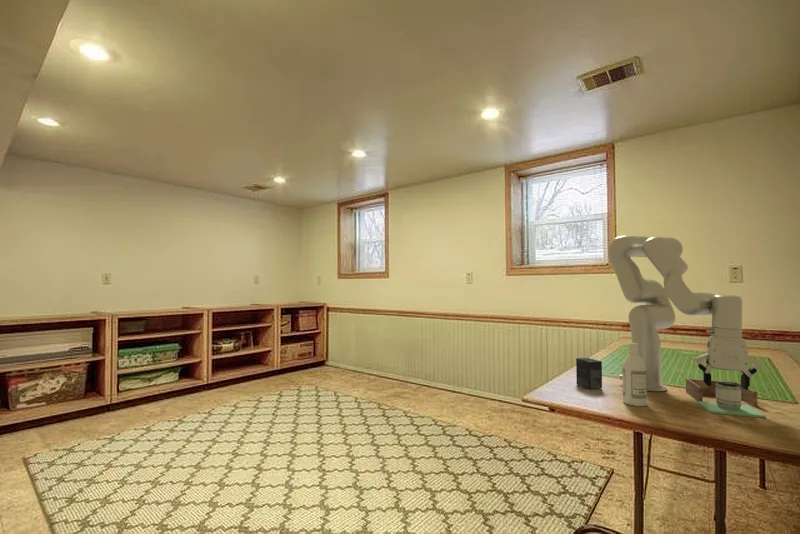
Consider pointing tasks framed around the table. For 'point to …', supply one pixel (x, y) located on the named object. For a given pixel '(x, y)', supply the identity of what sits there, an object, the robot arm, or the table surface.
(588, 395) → the table surface
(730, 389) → the camera lens
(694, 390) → the cubby
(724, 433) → the table surface
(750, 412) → the cutting mat
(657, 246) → the robot arm
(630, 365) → the bath foam
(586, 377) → the box
